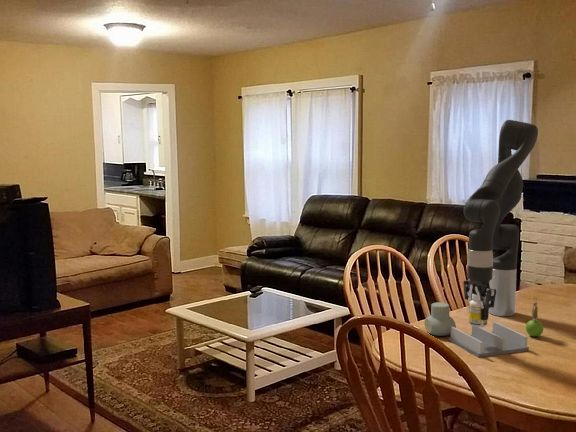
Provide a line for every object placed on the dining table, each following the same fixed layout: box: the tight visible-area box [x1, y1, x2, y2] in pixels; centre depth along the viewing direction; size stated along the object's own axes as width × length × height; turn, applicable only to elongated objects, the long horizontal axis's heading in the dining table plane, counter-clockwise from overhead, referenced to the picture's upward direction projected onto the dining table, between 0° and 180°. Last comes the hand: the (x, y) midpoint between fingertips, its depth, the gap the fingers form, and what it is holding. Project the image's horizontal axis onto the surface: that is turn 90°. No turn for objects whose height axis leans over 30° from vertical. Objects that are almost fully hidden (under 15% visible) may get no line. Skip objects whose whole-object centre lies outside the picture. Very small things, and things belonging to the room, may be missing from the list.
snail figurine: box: [525, 297, 544, 337], centre depth 199 cm, size 5×6×12 cm
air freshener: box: [423, 301, 457, 337], centre depth 202 cm, size 11×8×10 cm
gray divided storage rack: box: [448, 321, 530, 358], centre depth 190 cm, size 16×18×4 cm
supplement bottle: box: [468, 294, 488, 328], centre depth 188 cm, size 5×5×10 cm
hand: (478, 316), depth 188 cm, fingers closed on supplement bottle, 5 cm apart
